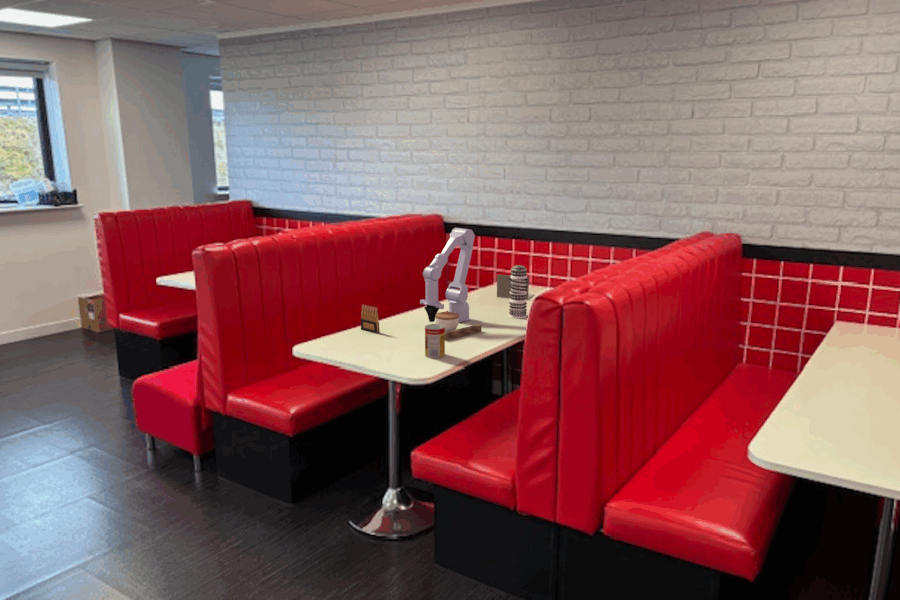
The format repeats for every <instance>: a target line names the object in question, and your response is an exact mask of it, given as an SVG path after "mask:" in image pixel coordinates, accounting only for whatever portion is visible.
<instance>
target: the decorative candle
mask: <svg viewBox="0 0 900 600" xmlns="http://www.w3.org/2000/svg"><path fill="white" fill-rule="evenodd" d="M527 272H528V269H527V267H526V266H525V265H523V264H522V265H519V264H518V265H517V264H516V265H513V266H512V268H510V276H511V277H510V278H509V280H510V282H509V284H510V285H509V287H510V294H511V298H509V312H508V314H509V315H508V316H509V317H510V318H512V319H524V318H527V314H528V313H527V311H528V310H527V307H528V306H527V304H528V303H527V300H526V294H527V292H526V291H527V289H526V288H527V287H528V286H527V285H526V284H527V283H528V282H526V281H527V280H528V279H527V277H528V275H527V274H528V273H527Z"/></svg>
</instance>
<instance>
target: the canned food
mask: <svg viewBox="0 0 900 600" xmlns="http://www.w3.org/2000/svg"><path fill="white" fill-rule="evenodd" d="M445 345H446V341H445V326H444V325H441V324H436V323H431V324H430V323H429V324H426V325H425V326H424V356H425V357H426V358H429V359H441V358H444V357H445V356H446V355H445V354H446V349H445V348H446V346H445Z"/></svg>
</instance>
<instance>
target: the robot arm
mask: <svg viewBox="0 0 900 600" xmlns="http://www.w3.org/2000/svg"><path fill="white" fill-rule="evenodd" d="M475 237H476V235H475V233H474V231H473V229H471V228H470V229H469V228H461V227H454V228H452V230H451V232H450V233H449V239H448V241H447V242H446V244H445V246H444V248H443V249H442V251H441V253H437V254H436V255H435V256H434V258H433V260H432V261H431V263H430V264H429V265H428V266H426V267H425V268H424V269H423V272H422V276H423V278H424V282H425V299H420V300H419V304H420V305H425V306H424V310H425V312H426V314H427V318H428V320H429V322H430V323H434V322H436V317H435V315H436V314H437V313H439V310H444V309H445V304H443V303H441V302H439V279H440V278H441V276H442V272H443V268H444V267H445V265H446V264H447V263H448V260H449V259H448V257H449V256H450V254H451V253H452V252H453V251H454V249H456V247H457V246H458V247H459V248H460V252H459V255H458V260H457V264H456V269H455V272H454V273H455V274H454V278H453V281H452V282H450V283H449V284H448V287H447V289H446V291H445V298H446V299H447V302H448V312H455V313H458V314H459V323H462V322H466V321H471V318H470V305H469V303H468V301H467V300H468V295H469V294H468V291H469V288H468V286H467V285H466V279H467V276H468V271H469V267H470V263H471V259H472V255H473V254H472V253H473V249H474V241H475Z"/></svg>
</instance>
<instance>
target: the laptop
mask: <svg viewBox="0 0 900 600" xmlns="http://www.w3.org/2000/svg"><path fill="white" fill-rule="evenodd" d="M510 277H511V274H510V275H506V274H496V297H497V298H503V299H510V298H511V294H510V287H509V285H510V284H509V282H510V280H509V278H510ZM527 279H528V280H527V281H526V282H528V283H527V284H526V285H527V286H528V287H527V288H526V289H527V291H526V292H527V294H526V301H529V300H530V299H531V298H533V296H534V295H535V294H532V293H531V294H530V293H529V285H530V284H529V283H530V277H529V276H527Z"/></svg>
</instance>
